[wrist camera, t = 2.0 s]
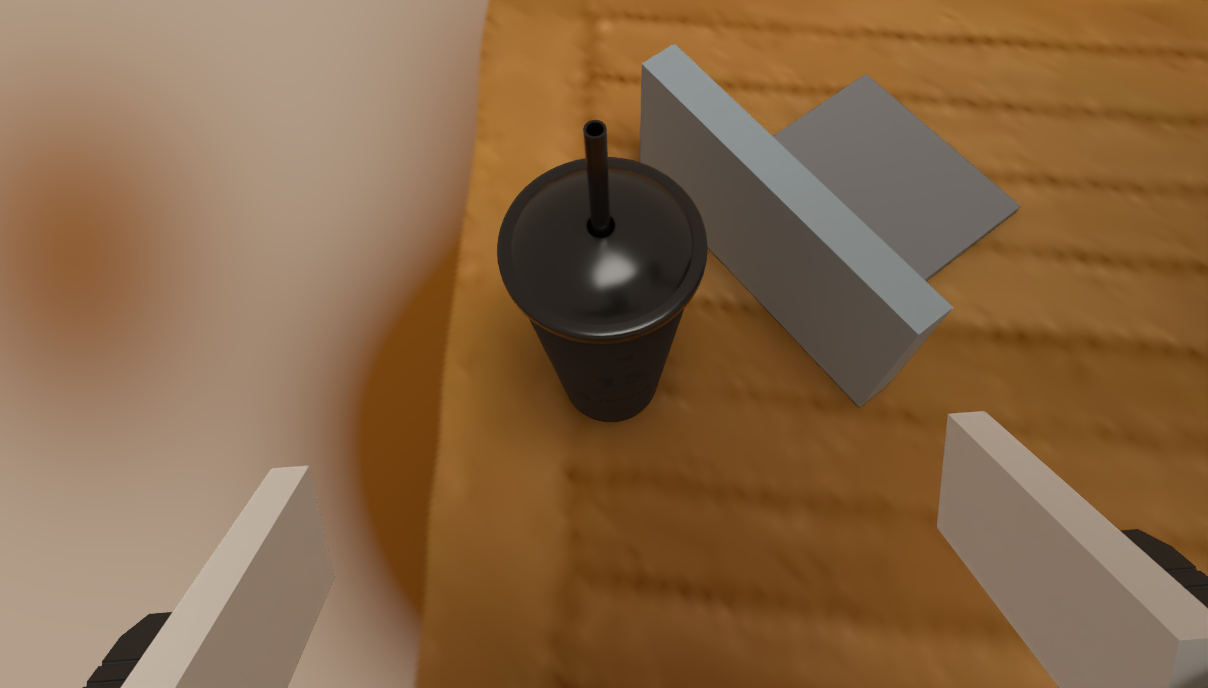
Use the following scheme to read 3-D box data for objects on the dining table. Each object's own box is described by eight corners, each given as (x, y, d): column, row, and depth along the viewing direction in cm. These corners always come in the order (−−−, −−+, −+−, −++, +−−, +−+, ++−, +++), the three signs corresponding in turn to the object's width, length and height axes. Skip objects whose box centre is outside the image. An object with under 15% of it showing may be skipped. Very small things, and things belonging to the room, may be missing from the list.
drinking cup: (513, 349, 42) (423, 86, 24) (641, 289, 43) (649, -5, 25) (576, 475, 39) (529, 287, 21) (711, 408, 41) (778, 174, 22)
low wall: (666, 157, 47) (674, 43, 38) (887, 385, 41) (953, 307, 32) (639, 175, 46) (641, 63, 38) (859, 407, 40) (918, 334, 32)
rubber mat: (863, 80, 49) (866, 73, 48) (1015, 212, 45) (1020, 206, 44) (712, 182, 46) (713, 176, 45) (860, 331, 42) (863, 327, 41)
